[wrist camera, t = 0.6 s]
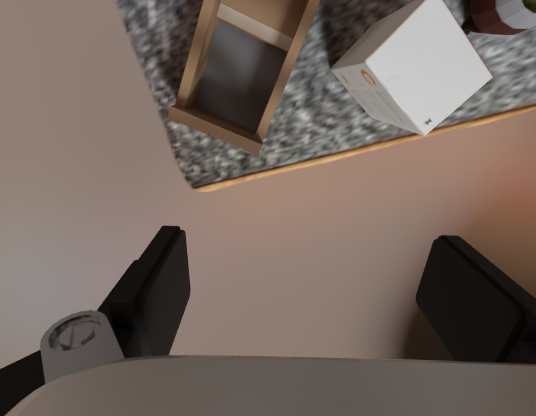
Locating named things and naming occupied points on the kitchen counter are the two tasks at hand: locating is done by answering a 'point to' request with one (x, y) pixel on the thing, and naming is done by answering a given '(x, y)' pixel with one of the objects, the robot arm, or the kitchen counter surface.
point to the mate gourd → (501, 16)
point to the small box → (413, 67)
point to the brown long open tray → (241, 67)
